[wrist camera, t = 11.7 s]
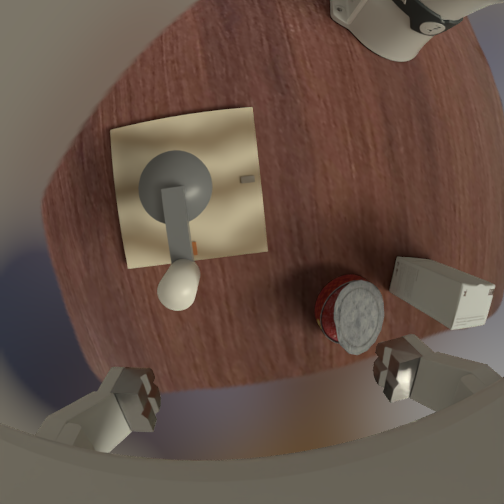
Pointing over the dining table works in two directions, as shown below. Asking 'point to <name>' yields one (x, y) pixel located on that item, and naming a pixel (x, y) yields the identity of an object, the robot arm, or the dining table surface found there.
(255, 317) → the dining table surface
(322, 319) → the canned food
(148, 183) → the white knob lever
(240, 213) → the mount board
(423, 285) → the skincare box
